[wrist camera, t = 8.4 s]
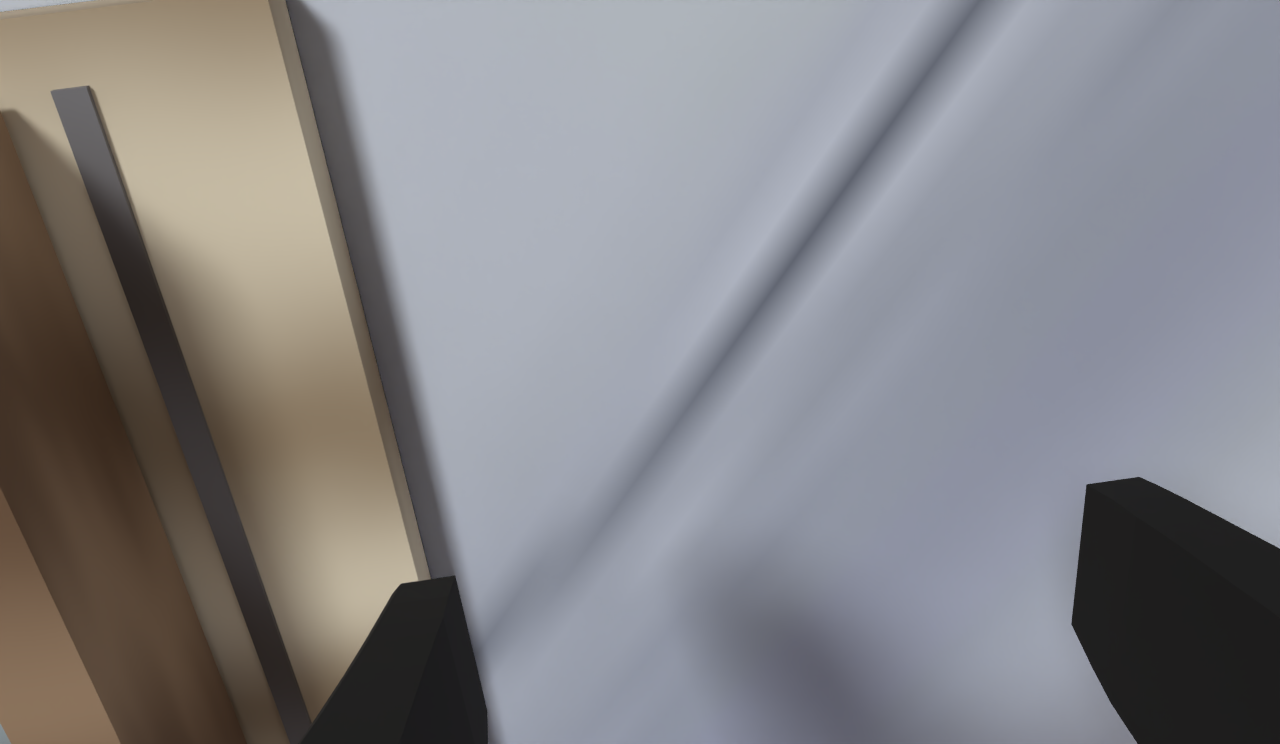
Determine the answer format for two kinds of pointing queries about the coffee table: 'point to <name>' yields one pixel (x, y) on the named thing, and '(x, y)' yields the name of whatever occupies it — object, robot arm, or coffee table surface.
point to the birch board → (222, 324)
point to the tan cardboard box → (82, 532)
